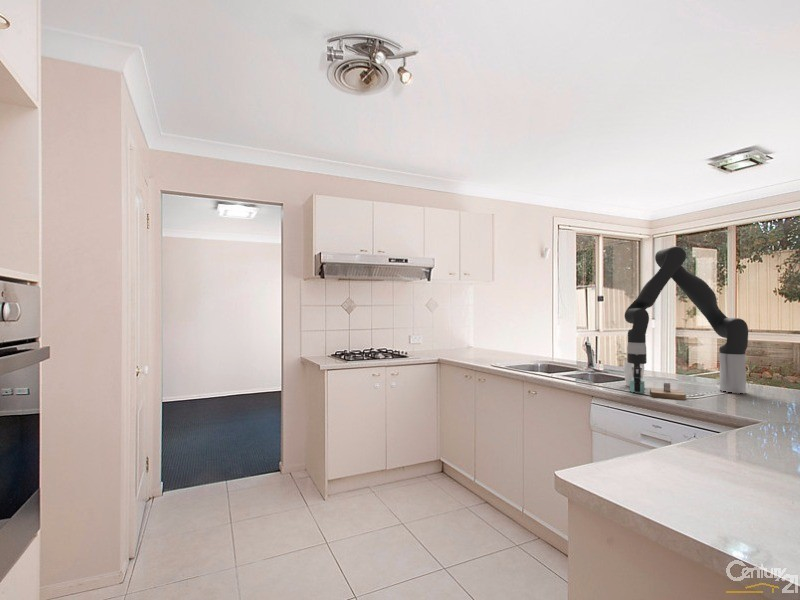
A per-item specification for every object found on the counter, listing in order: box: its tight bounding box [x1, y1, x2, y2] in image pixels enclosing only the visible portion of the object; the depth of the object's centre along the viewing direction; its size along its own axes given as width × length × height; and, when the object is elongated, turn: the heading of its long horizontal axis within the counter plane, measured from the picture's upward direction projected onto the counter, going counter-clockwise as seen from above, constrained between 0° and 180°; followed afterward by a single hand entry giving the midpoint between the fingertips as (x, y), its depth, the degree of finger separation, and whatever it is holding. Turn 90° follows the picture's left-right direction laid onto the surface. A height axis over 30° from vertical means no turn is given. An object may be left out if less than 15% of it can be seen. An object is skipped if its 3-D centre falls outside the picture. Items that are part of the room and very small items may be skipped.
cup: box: [622, 359, 645, 387], centre depth 202 cm, size 9×9×12 cm
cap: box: [629, 380, 645, 394], centre depth 186 cm, size 6×6×5 cm
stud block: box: [649, 382, 687, 401], centre depth 177 cm, size 12×12×6 cm
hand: (637, 390), depth 186 cm, fingers closed on cap, 5 cm apart
